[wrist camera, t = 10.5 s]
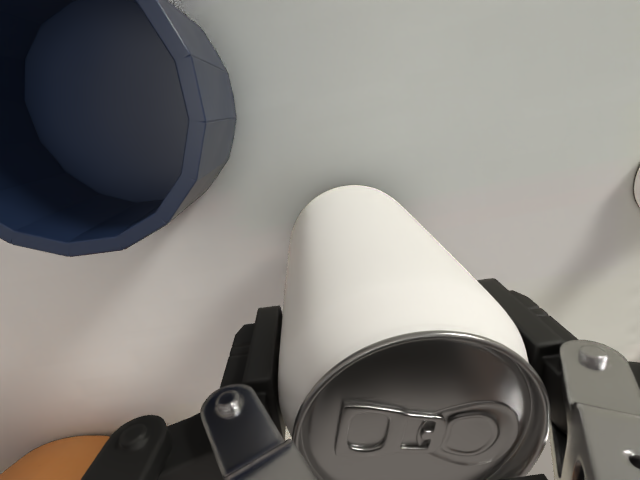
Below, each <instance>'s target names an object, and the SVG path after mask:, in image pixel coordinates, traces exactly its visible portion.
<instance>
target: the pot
mask: <svg viewBox="0 0 640 480" xmlns="http://www.w3.org/2000/svg"><path fill="white" fill-rule="evenodd" d="M235 124H236V112H235V104H234V96H233V92H232V88H231V84H230V80H229V76H228V73H227V70H226V68H225V67H224V65H223V63H222V61H221V59H220V57H219V55H218V54H217V52H216V50H215V49H214V47H213V46H212V44H211V43H210V41H209V40H208V38H207V36H206V35H205V33H204V31H203V30H202V29H201V27H199V26H198V25H197V24H196V23H195V22H193V21H192V20H191V19H190V18H189V17H187V16H186V15H185V14H184V13H183V12H181V11H180V10H179V9H178V8H176V7H175V6H174V5H173V4H172V3H170V2H169V1H168V0H0V238H1V239H3V240H4V241H6V242H8V243H12V244H13V245H17V246H22V247H26V248H31V249H35V250H40V251H45V252H49V253H54V254H58V255H63V256H70V257H73V256H81V255H89V254H97V253H105V252H112V251H120V250H123V249H127V248H128V247H130V246H132V245H133V244H135V243H137V242H138V241H140V240H142V239H144V238H145V237H147V236H149V235H150V234H152V233H154V232H155V231H157V230H159V229H161V228H162V227H164V226H166V225H167V224H168V223H169V222H171V221H172V220H173V219H174V218H175V217H176V216H177V215H179V214H180V213H181V212H182V211H183V210H184V209H186V208H187V207H188V206H189V205H190V204H191V203H192V202H194V201H195V200H196V199H197V198H198V197H199V196H201V195H202V194H203V193H204V192H205V191H206V190H207V189H208V188H209V187H210V185H211V184H212V182H213V181H214V179H215V178H216V177H217V176H218V174H219V173H220V171H221V169H222V168H223V166H224V165H225V164H226V162H227V161H228V158H229V155H230V150H231V146H232V143H233V139H234V131H235Z"/></svg>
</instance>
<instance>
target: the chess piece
mask: <svg viewBox="0 0 640 480" xmlns="http://www.w3.org/2000/svg"><path fill="white" fill-rule="evenodd" d="M634 194H635V199H636V201H637V203H638V205H639V207H640V167H639V170H638V172H637V175H636V178H635V183H634Z"/></svg>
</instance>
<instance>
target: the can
mask: <svg viewBox="0 0 640 480" xmlns="http://www.w3.org/2000/svg"><path fill="white" fill-rule="evenodd" d="M278 398H279V405H280V409H281V413H282V416H283V419H284V422H285V424H286V426H287V429H288V431H289V433H290V435H291V436H292V441H293V442H294V444H295V445H296V446H297V448H298V449H299V451H300V453H301V454H302V456H303V457H304V459H305V460H306V462H307V464H308V465H309V467H310V468H311V470H312V472H313V473H314V475H315V476H316V478H317V479H318V480H499V479H507V478H515V477H523V476H526V475H527V474H528V472H529V471H530V470H531V469H532V467H533V466H534V464H535V463H536V461H537V460H538V458H539V457H540V455H541V453H542V451H543V449H544V446H545V444H546V441H547V438H548V435H549V430H550V424H551V407H550V401H549V397H548V393H547V391H546V388H545V386H544V384H543V382H542V380H541V378H540V377H539V375H538V374H537V372H536V371H535V370H534V368H533V367H532V366H531V365H530V364H529V362H528V357H527V352H526V349H525V346H524V343H523V340H522V337H521V335H520V333H519V331H518V329H517V327H516V325H515V324H514V322H513V321H512V319H511V318H510V317H509V315H508V314H507V313H506V311H505V310H504V309H503V308H502V307H501V306H500V304H499V303H498V302H497V301H496V300H495V299H494V298H493V297H492V296H491V295H490V294H489V293H488V292H487V290H486V289H485V288H484V287H483V286H482V285H481V284H480V283H479V282H478V281H477V280H476V279H475V278H474V277H473V276H472V275H471V274H470V273H469V272H468V271H467V270H466V269H465V268H464V267H463V266H462V265H461V264H460V263H459V262H458V261H457V260H456V259H455V258H454V257H453V256H452V255H451V254H450V253H449V252H448V251H447V250H446V249H445V248H444V247H443V246H442V245H441V244H440V243H439V242H438V241H437V240H436V239H435V238H434V237H433V236H432V235H431V234H430V233H429V232H428V231H427V230H426V229H425V228H424V227H423V226H422V225H421V224H420V223H419V222H418V221H417V220H416V219H415V218H414V217H413V216H412V215H411V214H410V213H409V212H408V211H406V210H405V209H404V208H403V207H402V206H401V205H400V204H399V203H398V202H397V201H396V200H394V199H393V198H392V197H391V196H389V195H387V194H386V193H384V192H382V191H380V190H378V189H375V188H372V187H368V186H361V185H348V186H341V187H337V188H334V189H331V190H328V191H326V192H324V193H322V194H320V195H319V196H317V197H316V198H314V199H313V200H312V201H311V202H310V203H309V204H308V205H307V206H306V207H305V208H304V209H303V210H302V212H301V213H300V214H299V216H298V218H297V220H296V222H295V224H294V226H293V229H292V233H291V237H290V244H289V253H288V262H287V273H286V283H285V294H284V305H283V316H282V327H281V339H280V351H279V365H278Z"/></svg>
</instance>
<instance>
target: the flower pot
mask: <svg viewBox="0 0 640 480" xmlns="http://www.w3.org/2000/svg"><path fill="white" fill-rule="evenodd" d="M109 438H110V436H76V437H69V438H64V439H60V440H56V441H53V442H50V443H47V444H45V445H42V446H40V447H38V448H36V449H34V450H32V451H31V452H29V453H28V454H26V455H25V456H24V457H22V458H21V459H20V460H18V461H17V462H16V463H14V464H13V465H12V466H11V467H9V468H8V469H7V470H5V471H4V472H3V473H2V474H0V480H81V478H82V477H83V475H84V474H85V472H86V471H87V469H88V468H89V466H90V465H91V464H92V462H93V461H94V459H95V458H96V456H97V455H98V453H99V452H100V450H101V449H102V447H103V446H104V444H105V443H106V441H107V440H108V439H109Z"/></svg>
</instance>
